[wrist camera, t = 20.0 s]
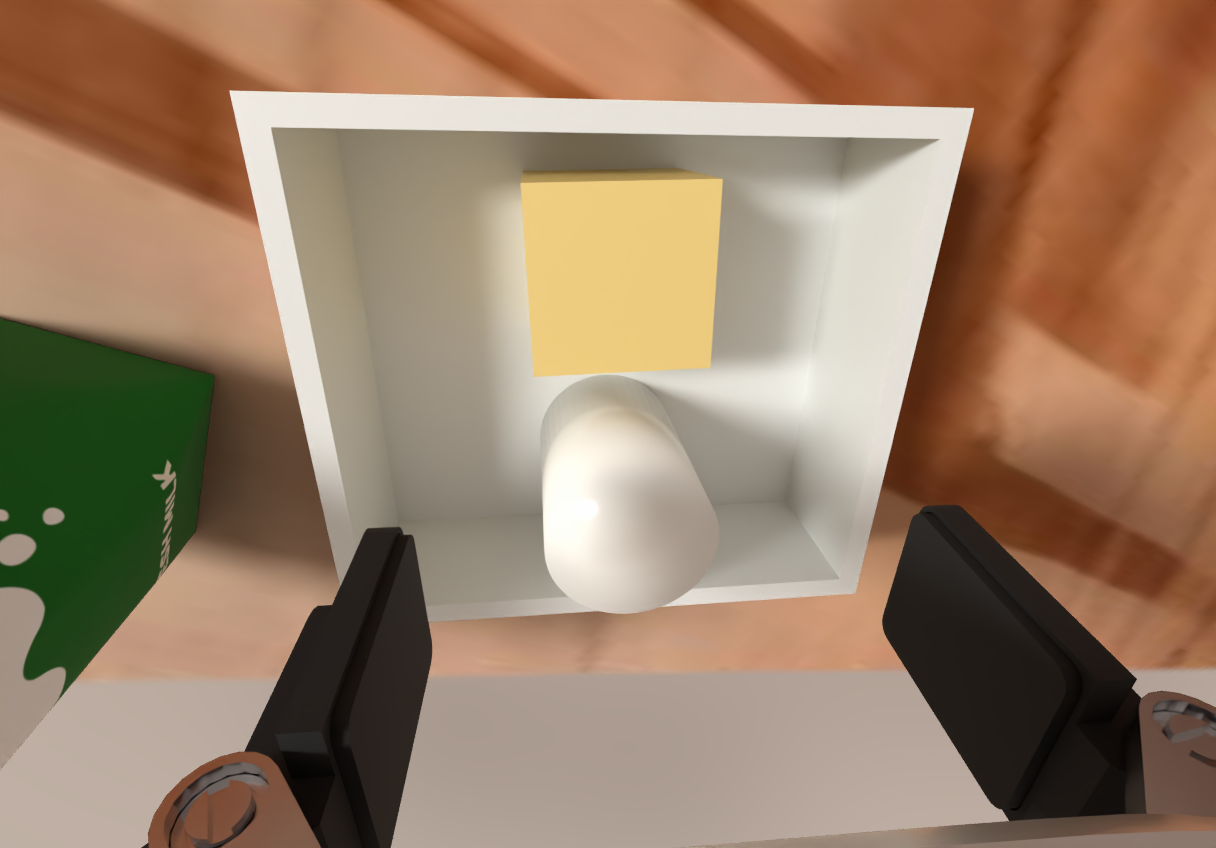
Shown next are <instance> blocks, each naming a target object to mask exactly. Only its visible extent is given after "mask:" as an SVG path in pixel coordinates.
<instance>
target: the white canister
mask: <svg viewBox="0 0 1216 848" xmlns="http://www.w3.org/2000/svg"><path fill="white" fill-rule="evenodd" d="M540 444H541V473H542V502H543V530H544V553H545V561H546V564H547V568H548V571H549V573H550V575H551V577H552V579H553V580H554V582H555V583H556V585H557V586H558V587H559V588H560V589H561V590H562V591H563V592H564V593H565V594H566V595H567V596H569V597H570V598H571V599H573V600H574V601H576V602H577V603H579V604H581V605H583V606H586V607H588V608H591V609H594V610H597V611H601V612H607V613H616V614H631V613H639V612H644V611H649V610H653V609H656V608H659V607H662V606H664V605H666V604H669V603H671V602H673V601H674V600H676V599H678V598H680V597H681V596H683V595H684V594H685V593H687V592H688V591H690V590H691V589H692V588H693V587H694V586H695V585H696V584H697V583H698V582H699V581H700V580H701V579H702V578H703V576H704V575H705V574H706V572H707V571H708V569H709V568H710V566H711V564H712V562H713V560H714V557H715V555H716V552H717V548H718V543H719V526H718V520H717V517H716V513H715V511H714V509H713V507H712V505H711V503H710V501H709V499H708V497H707V495H706V493H705V491H704V488H703V486H702V484H701V482H700V480H699V478H698V476H697V474H696V472H695V470H694V468H693V466H692V464H691V462H690V460H689V458H688V456H687V454H686V452H685V449H684V447H683V445H682V443H681V441H680V439H679V437H678V435H677V433H676V431H675V429H674V427H673V425H672V423H671V421H670V419H669V417H668V415H667V413H666V411H665V408H664V406H663V404H662V403H661V401H660V400H659V398H658V397H657V396H656V395H655V394H654V393H653V391H651V390H650V389H649V388H648V387H647V386H645V385H643V384H642V383H640V382H638V381H636V380H634V379H631V378H628V377H624V376H619V375H597V376H592V377H588V378H585V379H582V380H580V381H578V382H576V383H573V384H572V385H570V386H569V387H567V388H566V389H564V390H563V391H562V392H561V393H560V394H559V395H558V396H557V397H556V398H555V399H554V400H553V401H552V403H551V404H550V406H549V407H548V409H547V411H546V413H545V415H544V418H543V421H542V425H541V432H540Z"/></svg>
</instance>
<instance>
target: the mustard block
mask: <svg viewBox="0 0 1216 848" xmlns="http://www.w3.org/2000/svg"><path fill="white" fill-rule="evenodd" d="M520 185H521V199H522V214H523V228H524V243H525V257H526V272H527V286H528V301H529V315H530V330H531V344H532V359H533V373H534V377H542V376H562V375H581V374H601V373H620V372H640V371H659V370H679V369H698V368H710V367H711V352H712V337H713V321H714V306H715V291H716V276H717V261H718V246H719V231H720V215H721V200H722V185H723V179H722V178H718V177H714V176H710V175H705V174H701V173H697V172H693V171H689V170H685V169H681V168H654V169H601V170H547V171H523V173H522V178H521V182H520Z"/></svg>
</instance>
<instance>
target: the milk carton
mask: <svg viewBox="0 0 1216 848" xmlns="http://www.w3.org/2000/svg"><path fill="white" fill-rule="evenodd" d="M213 385H214V375H211V374H207V373H203V372H200V371H196V370H192V369H188V368H185V367H181V366H177V365H173V364H170V363H166V362H162V361H158V360H154V359H151V358H147V357H143V356H139V355H136V354H132V353H128V352H124V351H121V350H117V349H113V348H109V347H106V346H102V345H98V344H94V343H91V342H87V341H83V340H79V339H76V338H72V337H68V336H64V335H60V334H57V333H53V332H49V331H45V330H42V329H38V328H34V327H30V326H27V325H23V324H19V323H15V322H12V321H8V320H4V319H0V770H1V769H2V768H3V766H4V765H5V764H6V763H7V761H8V760H9V759H10V758H11V757H12V756H13V754H14V753H15V752H16V751H17V749H18V748H19V747H20V746H21V745H22V744H23V742H24V741H25V740H26V739H27V737H28V736H29V735H30V734H31V733H32V731H33V730H34V729H35V728H36V727H37V725H38V724H39V723H40V722H41V721H42V719H43V718H44V717H45V716H46V714H47V713H48V712H49V711H50V710H51V708H52V707H53V706H54V705H55V704H56V703H57V701H58V700H59V698H61V696H62V695H63V694H64V693H65V692H66V690H67V689H68V688H69V687H70V686H71V684H72V683H73V682H74V681H75V680H76V678H77V677H78V676H79V675H80V674H81V672H82V671H83V670H84V669H85V668H86V666H87V665H88V664H89V663H90V661H91V660H92V659H93V658H94V657H95V655H96V654H97V653H98V652H99V651H100V649H101V648H102V647H103V646H104V645H105V643H106V642H107V641H108V640H109V639H110V637H111V636H112V635H113V634H114V633H115V631H116V630H117V629H118V628H119V626H120V625H121V624H122V623H123V622H124V620H125V619H126V618H127V617H128V616H129V614H130V613H131V612H132V611H133V610H134V608H135V607H136V606H137V605H138V604H139V602H140V601H141V600H142V599H143V597H144V596H145V595H146V594H147V593H148V591H149V590H150V589H151V588H152V587H153V585H154V584H155V583H156V582H157V581H158V579H159V578H160V577H161V575H162V574H163V573H164V572H165V570H166V569H167V568H168V566H169V565H170V564H171V563H172V561H173V560H174V559H175V557H176V556H177V555H178V554H179V552H180V551H181V550H182V548H183V547H184V546H185V544H186V543H187V542H188V541H189V539H190V538H191V537H192V535H193V534H194V533H195V532H196V525H197V517H198V509H199V500H200V492H201V484H202V476H203V467H204V459H205V451H206V443H207V435H208V426H209V418H210V410H211V402H212V393H213Z"/></svg>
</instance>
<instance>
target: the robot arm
mask: <svg viewBox="0 0 1216 848" xmlns="http://www.w3.org/2000/svg"><path fill="white" fill-rule="evenodd" d="M882 625H883V630H884V633H885V635H886V637H887V639H888V641H889V642H890V644H891V645H892V647H893V649H894V650H895V652H896V653H897V655H898V657H899V658H900V660H901V661H902V663H903V665H904V666H905V668H906V669H907V671H908V672H909V674H910V675H911V677H912V679H913V680H914V682H915V684H916V685H917V687H918V688H919V690H920V692H921V693H922V695H923V696H924V698H925V699H926V701H927V703H928V704H929V706H930V707H931V709H932V711H933V712H934V714H935V715H936V717H937V719H938V720H939V722H940V723H941V725H942V727H943V728H944V730H945V731H946V733H947V735H948V736H949V738H950V739H951V741H952V743H953V744H954V746H955V747H956V749H957V751H958V752H959V754H960V755H961V757H962V758H963V760H964V761H965V763H966V765H967V766H968V768H969V770H970V771H971V773H972V774H973V776H974V778H975V779H976V781H977V782H978V784H979V785H980V787H981V789H982V790H983V792H984V793H985V795H986V796H987V798H988V799H989V801H990V802H991V804H993V805H994V806H995V807H996V808H998V809H1002V810H1003V812H1004V813H1005V815H1006V816H1007V818H1008V820H1009V821H1006V822H995V823H994V822H993V823H981V824H980V823H979V824H966V825H954V826H940V827H928V828H914V829H901V830H888V831H875V832H863V833H851V834H839V835H826V836H814V837H801V838H789V839H777V840H765V841H754V842H741V843H729V844H717V845H706V846H693V847H682V848H1216V707H1214V706H1212V705H1209V704H1207V703H1205V702H1203V701H1201V700H1199V699H1196V698H1193V697H1190V696H1187V695H1183V694H1180V693H1175V692H1167V691H1157V692H1151V693H1148V694H1147V695H1145V696H1144V697H1143V698H1141V697H1140V696H1139V695H1138V694H1137V693H1136V692H1135V691H1134V690H1133V689H1132V687H1133V685H1134V683H1135V682H1136V680H1137V679H1136V678H1135V677H1134V676H1133V675H1132V674H1131V673H1130V672H1129V671H1128V670H1127V669H1126V668H1125V667H1124V666H1123V665H1122V664H1121V663H1120V662H1119V661H1118V660H1117V659H1116V658H1115V657H1114V656H1113V655H1112V654H1111V653H1110V652H1109V651H1108V650H1107V649H1106V648H1105V647H1104V646H1103V645H1102V644H1101V643H1100V642H1099V641H1098V640H1097V639H1096V638H1094V637H1093V636H1092V635H1091V634H1090V633H1089V632H1088V631H1087V630H1086V629H1085V628H1084V627H1083V626H1082V625H1081V624H1080V623H1079V622H1078V621H1077V620H1076V619H1075V618H1074V617H1073V616H1072V615H1071V614H1070V613H1069V612H1068V611H1067V610H1066V609H1065V608H1064V607H1063V606H1062V605H1061V604H1060V603H1059V602H1058V601H1057V600H1056V599H1055V598H1054V597H1053V596H1052V595H1051V594H1050V593H1049V592H1048V591H1047V590H1046V589H1045V588H1044V587H1043V586H1041V585H1040V584H1039V583H1038V582H1037V581H1036V580H1035V579H1034V578H1033V577H1032V576H1031V575H1030V574H1029V573H1028V572H1027V571H1026V570H1025V569H1024V568H1023V567H1022V566H1021V565H1020V564H1019V563H1018V562H1017V561H1016V560H1015V559H1014V558H1013V557H1012V556H1011V555H1010V554H1009V553H1008V552H1007V551H1006V550H1005V549H1004V548H1003V547H1002V546H1001V545H1000V544H999V543H998V542H997V541H996V540H995V539H994V538H993V537H992V536H991V535H990V534H988V533H987V532H986V531H985V530H984V529H983V528H982V527H981V526H980V525H979V524H978V523H977V522H976V521H975V520H974V519H973V518H972V517H971V516H970V515H969V514H968V513H967V512H966V511H965V510H964V509H963V508H961V507H960V506H958V505H937V506H926V507H924V508H923V509H922V510H921V511H920V513H919V514H916V515H915V516H914V517H913V518H912V521H911V524H910V527H909V531H908V534H907V537H906V541H905V544H904V547H903V551H902V554H901V557H900V561H899V564H898V567H897V571H896V574H895V578H894V581H893V584H892V588H891V591H890V594H889V598H888V601H887V604H886V608H885V611H884V614H883V619H882ZM431 660H432V640H431V634H430V628H429V622H428V616H427V611H426V605H425V599H424V593H423V587H422V582H421V576H420V570H419V564H418V558H417V552H416V547H415V541H414V537H413V535H404V534H403V531H402V529H401V528H400V527H382V528H368V529H366V531H365V532H364V534H363V536H362V539H361V541H360V543H359V545H358V548H357V550H356V552H355V554H354V557H353V559H352V561H351V564H350V566H349V568H348V570H347V573H346V575H345V577H344V579H343V582H342V584H341V586H340V588H339V591H338V593H337V595H336V597H335V600H334V602H333V604H332V605H326V606H317V607H316V608H315V609H313V611H312V612H311V614H310V615H309V617H308V619H307V621H306V623H305V625H304V628H303V630H302V632H301V634H300V636H299V638H298V640H297V642H296V644H295V646H294V649H293V651H292V653H291V655H290V657H289V659H288V661H287V663H286V665H285V667H284V669H283V672H282V674H281V676H280V678H279V680H278V682H277V684H276V686H275V688H274V691H273V693H272V695H271V697H270V699H269V701H268V703H267V705H266V707H265V709H264V711H263V713H262V716H261V718H260V720H259V722H258V724H257V726H256V728H255V730H254V732H253V734H252V736H251V739H250V741H249V743H248V745H247V747H246V749H245V751H244V752H237V753H232V754H228V755H224V756H221V757H218V758H216V759H214V760H212V761H210V762H208V763H206V764H204V765H202V766H200V767H199V768H197V769H196V770H194V771H193V772H192V773H190V774H189V775H188V776H186V777H185V778H183V779H182V780H181V781H180V782H179V783H178V784H177V785H176V786H175V787H174V788H173V789H172V790H171V791H170V792H169V793H168V794H167V795H166V797H165V798H164V800H163V801H162V803H161V805H160V806H159V808H158V809H157V811H156V812H155V814H154V816H153V819H152V822H151V826H150V829H149V832H148V842H149V843H147V844H146V845H145V846H143V847H142V848H390V847H391V844H392V839H393V834H394V829H395V825H396V820H397V816H398V812H399V807H400V802H401V798H402V793H403V789H404V784H405V780H406V774H407V770H408V766H409V761H410V757H411V752H412V747H413V743H414V738H415V734H416V729H417V725H418V720H419V715H420V710H421V706H422V701H423V697H424V692H425V688H426V683H427V679H428V674H429V670H430V665H431Z"/></svg>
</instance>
